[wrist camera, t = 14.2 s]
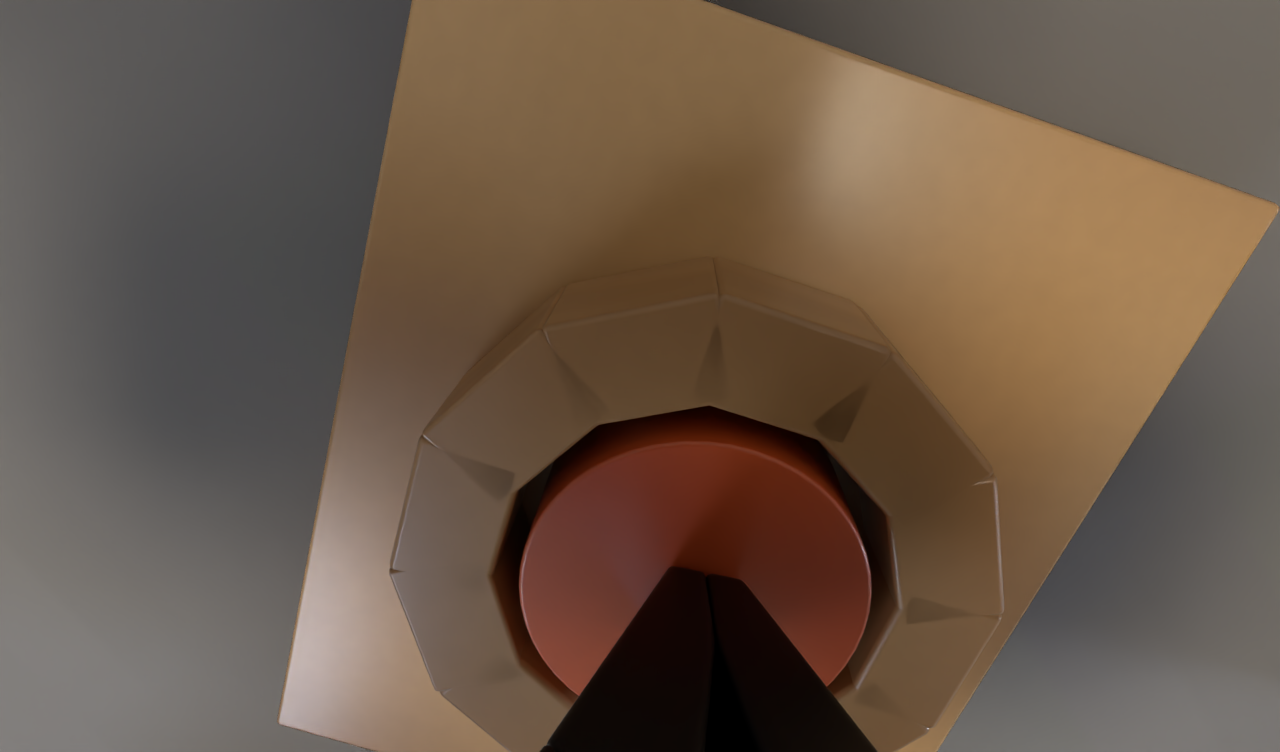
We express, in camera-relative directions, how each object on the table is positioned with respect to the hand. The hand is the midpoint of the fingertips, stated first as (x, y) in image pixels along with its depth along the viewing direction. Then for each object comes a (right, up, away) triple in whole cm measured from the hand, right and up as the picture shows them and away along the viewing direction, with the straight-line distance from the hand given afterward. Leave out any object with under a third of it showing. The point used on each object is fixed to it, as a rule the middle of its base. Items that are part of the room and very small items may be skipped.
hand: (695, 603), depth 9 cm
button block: (0, +1, +4) cm, 4 cm away
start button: (0, +1, +2) cm, 2 cm away
